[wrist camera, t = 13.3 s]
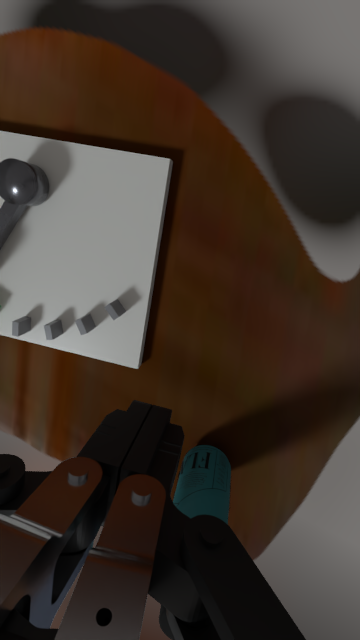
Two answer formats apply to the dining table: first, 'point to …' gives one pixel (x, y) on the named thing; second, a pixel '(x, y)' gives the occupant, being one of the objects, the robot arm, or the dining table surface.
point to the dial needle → (19, 192)
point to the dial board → (84, 249)
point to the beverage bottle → (201, 493)
